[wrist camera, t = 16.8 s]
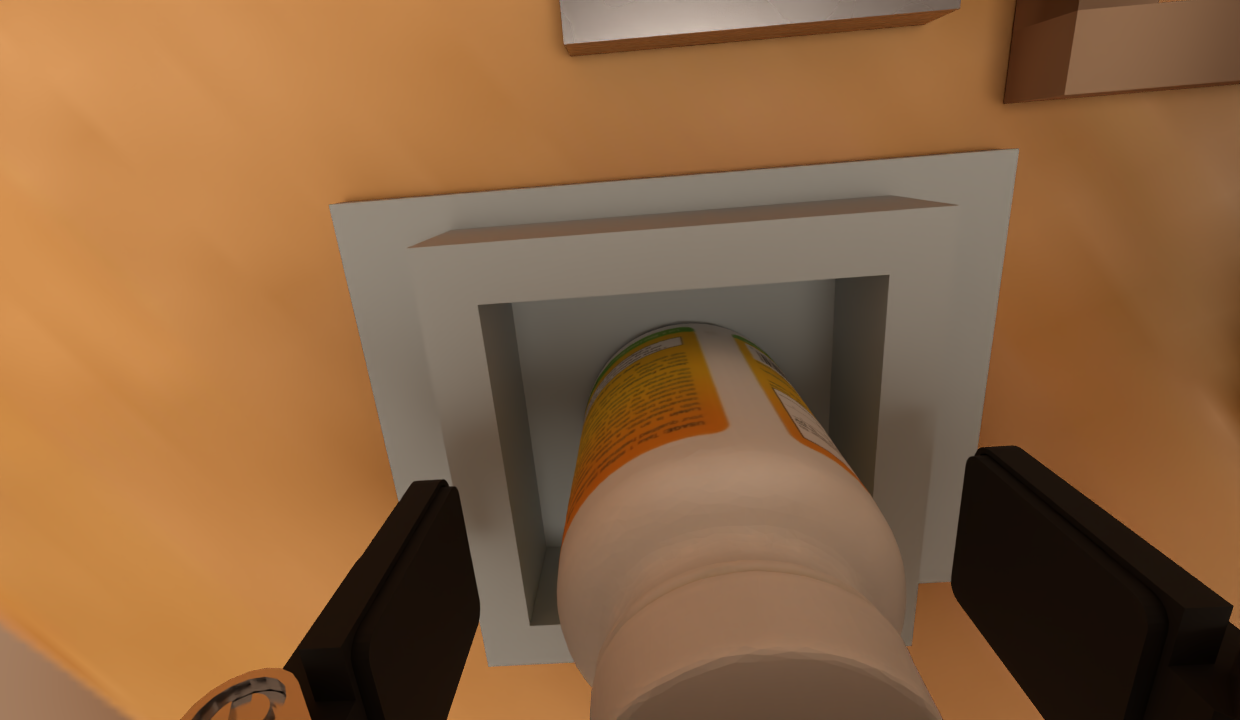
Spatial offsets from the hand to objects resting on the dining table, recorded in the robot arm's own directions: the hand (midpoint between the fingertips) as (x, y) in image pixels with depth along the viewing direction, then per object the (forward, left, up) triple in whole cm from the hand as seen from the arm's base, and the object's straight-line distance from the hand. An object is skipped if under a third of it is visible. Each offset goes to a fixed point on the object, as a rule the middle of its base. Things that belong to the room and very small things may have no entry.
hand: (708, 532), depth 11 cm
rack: (0, 0, -6) cm, 6 cm away
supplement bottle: (0, 0, -5) cm, 5 cm away
